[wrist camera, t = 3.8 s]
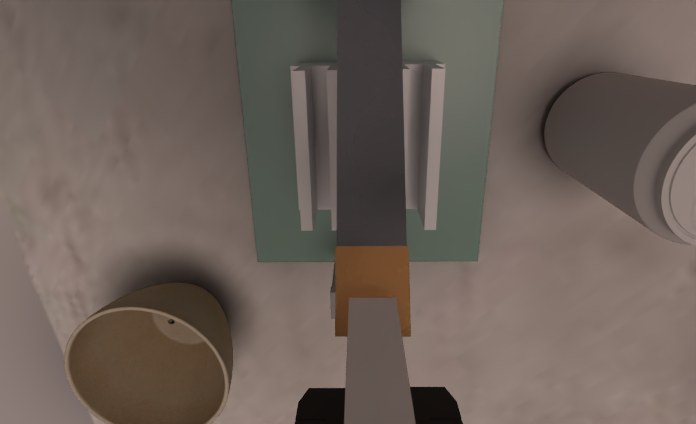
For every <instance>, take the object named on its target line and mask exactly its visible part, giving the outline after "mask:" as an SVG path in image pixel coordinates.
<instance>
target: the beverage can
mask: <svg viewBox="0 0 696 424" xmlns="http://www.w3.org/2000/svg"><path fill="white" fill-rule="evenodd" d="M544 138H545V145H546V148H547V151H548V154H549V156H550V158H551V159H552V160H553V162H554V163H555V164H556V165H557V166H558V167H559V168H560V169H562V170H563V171H564V172H566V173H567V174H569V175H570V176H572V177H573V178H575V179H576V180H577V181H579V182H580V183H582V184H583V185H585V186H586V187H588V188H589V189H591V190H592V191H594V192H595V193H597V194H598V195H599V196H601V197H602V198H604V199H605V200H607V201H608V202H610V203H611V204H613V205H614V206H616V207H617V208H619V209H620V210H621V211H623V212H624V213H626V214H627V215H629V216H630V217H632V218H633V219H635V220H636V221H638V222H639V223H641V224H642V225H643V226H645V227H646V228H648V229H649V230H651V231H652V232H654V233H655V234H657V235H658V236H660V237H662V238H665V239H667V240H670V241H673V242H676V243H680V244H688V245H694V246H696V85H691V84H684V83H678V82H672V81H665V80H659V79H652V78H646V77H640V76H633V75H627V74H621V73H613V72H607V73H598V74H594V75H590V76H588V77H585V78H583V79H581V80H579V81H577V82H576V83H574V84H573V85H571V86H570V87H569V88H567V89H566V90H565V91H564V92H563V93H562V94H561V95H560V96H559V98H558V99H557V100H556V102H555V103H554V105H553V106H552V108H551V110H550V112H549V114H548V117H547V120H546V124H545V132H544Z"/></svg>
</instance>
